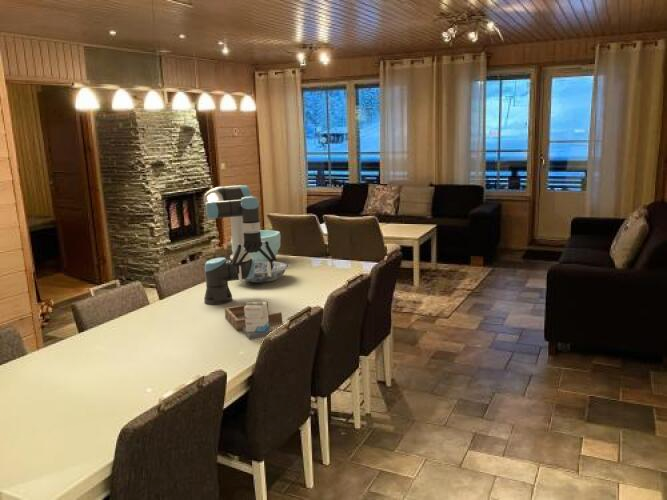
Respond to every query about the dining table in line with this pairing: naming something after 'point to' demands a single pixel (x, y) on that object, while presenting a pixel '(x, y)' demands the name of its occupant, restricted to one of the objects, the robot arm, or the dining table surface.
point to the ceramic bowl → (262, 271)
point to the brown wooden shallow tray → (238, 311)
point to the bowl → (273, 242)
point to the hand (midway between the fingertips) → (255, 278)
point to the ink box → (256, 316)
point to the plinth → (257, 333)
